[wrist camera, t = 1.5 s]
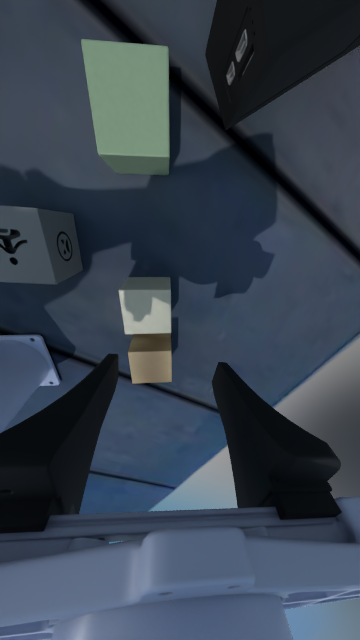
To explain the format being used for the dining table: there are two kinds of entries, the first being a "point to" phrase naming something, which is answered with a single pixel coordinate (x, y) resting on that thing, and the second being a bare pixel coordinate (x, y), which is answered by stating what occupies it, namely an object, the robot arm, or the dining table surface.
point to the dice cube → (37, 246)
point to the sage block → (129, 104)
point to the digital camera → (274, 48)
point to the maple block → (150, 358)
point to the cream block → (146, 305)
